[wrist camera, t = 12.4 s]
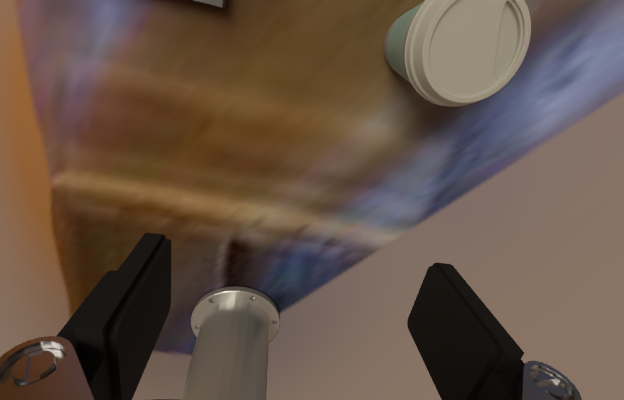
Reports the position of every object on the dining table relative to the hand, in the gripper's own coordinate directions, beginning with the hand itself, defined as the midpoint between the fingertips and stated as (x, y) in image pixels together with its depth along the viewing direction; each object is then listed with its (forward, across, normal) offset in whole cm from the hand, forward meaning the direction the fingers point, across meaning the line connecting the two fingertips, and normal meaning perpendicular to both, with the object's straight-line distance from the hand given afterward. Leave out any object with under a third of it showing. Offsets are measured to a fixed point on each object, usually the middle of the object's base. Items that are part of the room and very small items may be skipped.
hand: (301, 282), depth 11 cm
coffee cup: (+26, -11, -10) cm, 30 cm away
